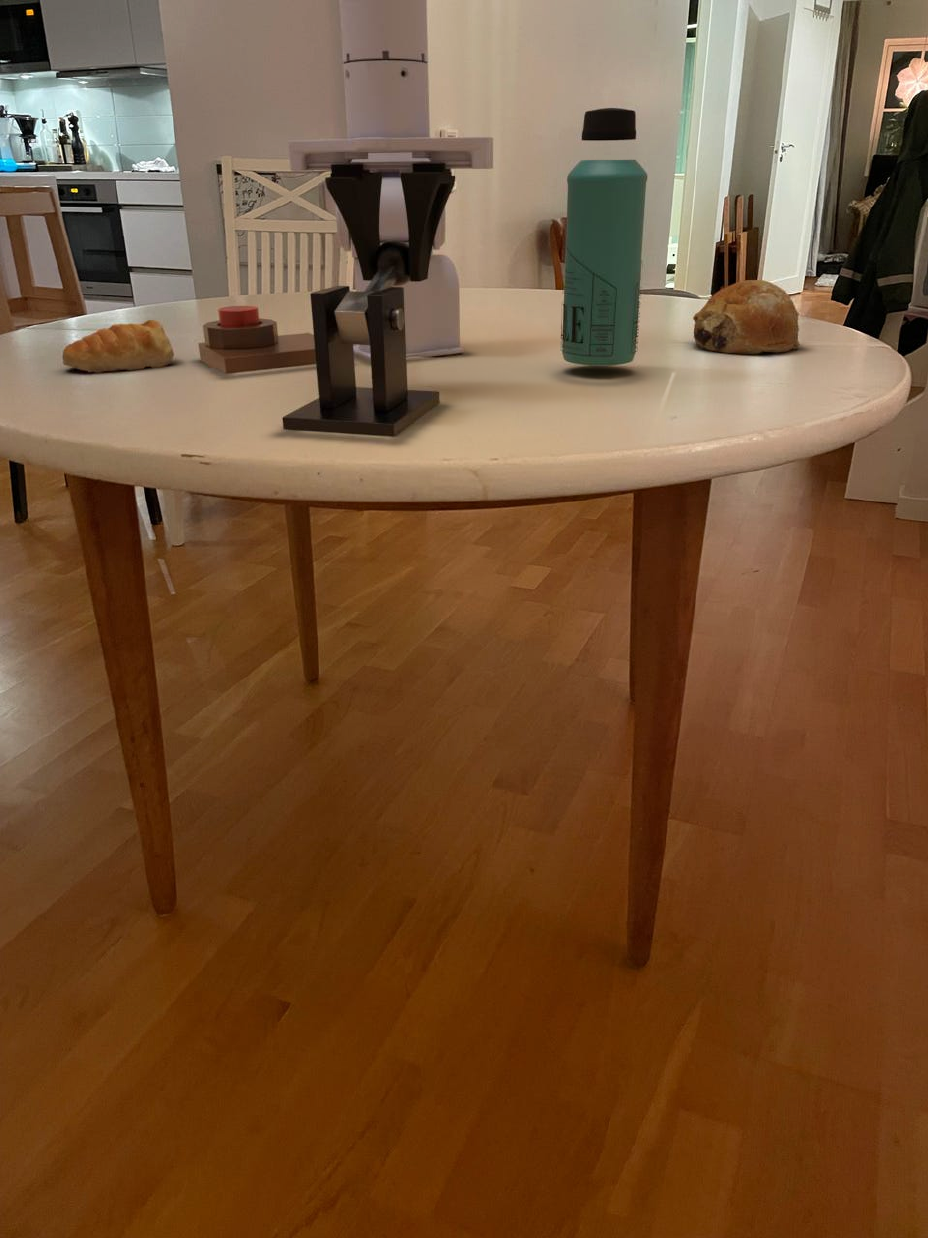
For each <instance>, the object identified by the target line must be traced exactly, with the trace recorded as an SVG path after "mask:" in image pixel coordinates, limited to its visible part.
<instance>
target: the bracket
mask: <svg viewBox="0 0 928 1238" xmlns="http://www.w3.org/2000/svg"><path fill="white" fill-rule="evenodd" d="M348 291H351V289H350V286H349V285H335V286H330V287H327V288H324V289H321V290H317V291H313V292H311V293H310V305H311V306H310V307H311V317H312V331H313V335H314V343H315V355H316V364H315V365H316V378H317V392H318V398H316V399H314V400H312V401H311V402H308V403H306V404H304V405H303V406H301V407H299V408H297V409H295V410H293V411H292V412H290V413H288V414H286V415H284V416H282V428H283V430H288V431H300V432H301V431H303V432H315V433H316V432H317V433H330V434H331V433H332V434H346V435H362V436H378V437H392V438H394V437H396V436H397V435H399V434H400V433H401V432H404V430H405V429H407V428H408V427H409V426H410V425H412V424H413V423H415V422H416V421H417V420H419V419H420V418H421V417H422V416H424V415H425V414H426V413H428V412H430V410H432V409H433V408H435V407H436V406H438V405H439V403H440V402H441V401H440V391H436V390H421V389H419V390H417V389H408V365H407V357H406V337H405V311H404V288H403V287H390V288H386V289H383V290H380V291H377V292H374V293H371V294H368V295H367V300H368V318H369V336H370V353H371V359H370V370H371V386H372V387H364V386H363V387H361V386H357V384H356V383H357V381H356V367H355V354H354V349H353V344H341V339H340V335H339V331H338V326H337V322H336V318H335V313H334V311H335V310H336V308H337V307H338V305H339V304H340V302H341V301H342V300H343V298H344V297H345V295H346V294H347V292H348Z"/></svg>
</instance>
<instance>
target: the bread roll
mask: <svg viewBox="0 0 928 1238" xmlns="http://www.w3.org/2000/svg"><path fill="white" fill-rule="evenodd" d="M799 316H800V313H799V312H798V310H797V309H796V306H795V303H794V301H793V300H792V298H791V297H790V295H789V294H788V293H787V292H786V290H785V289H783V288H781V287H780V286H778V285H776V284H774V283H773V282H770V281H767V280H763V279H748V280H742V281H741V280H740V281H738V282H735V283H733V284H730V285H728V286H726V287H724V288H721V289H720V290H719V291H717V292H716V293H714V294H713V295H712V296H711V297H710V298H709V299H708V300H707V301H706V302H705V304H704V305H703V307H702V308H701V309H700V310H699V311H698V312H696V313H695V314H694V315H693V317H692V319H693V321H694V324H693V325H694V328H693V338H694V341H695V343H696V344H697V345H698V346H699V347H700V348H701V349H705V350H707V351H711V352H718V353H726V354H740V355H760V354H762V353H786V352H789V351H790V350H797V349H798V348H799V346H800V342H799V331H800V328H799V327H800V325H799Z"/></svg>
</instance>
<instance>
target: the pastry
mask: <svg viewBox="0 0 928 1238" xmlns="http://www.w3.org/2000/svg"><path fill="white" fill-rule="evenodd" d="M174 355H175V353H174V349H173V346H172V343H171V341H170V339H169V336H167V334H166V332H165V330H164V326H163V324H161V323H160V322H159V321H157V320H155V319H148V320H146V321H144V322H143V323H128V324H127V323H126V324H125V323H116V324H112V325H111V326H109V327H108V328H106V327H105V328H100V329H98V330H97V331H96V332H93V333H91V334H89V335H86V336H83V337H82V338H81V339H79V340H75V341H73V342H72V343H69V344H67V345H66V346H65V347H64V349H63V351H62V356H61V357H62V365H63V366H67V367H70V368H74V369H77V370H80V371H85V372H88V373H89V374H90V373H93V372H94V373H103V372H117V371H120V370H127V371H135V370H143V369H144V368H146V367H151V368H152V369H155V368H161V367H165V366H169V365H172V361H173V358H174Z"/></svg>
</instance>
